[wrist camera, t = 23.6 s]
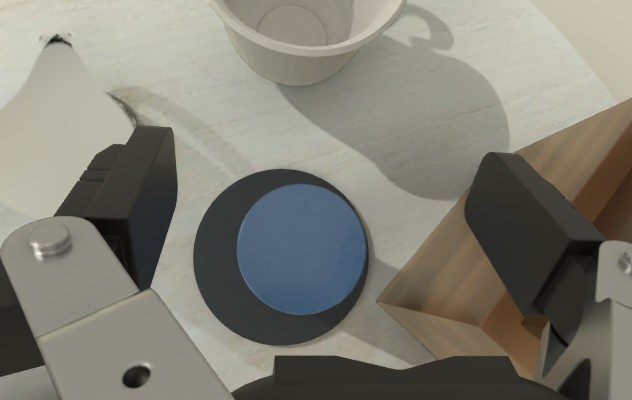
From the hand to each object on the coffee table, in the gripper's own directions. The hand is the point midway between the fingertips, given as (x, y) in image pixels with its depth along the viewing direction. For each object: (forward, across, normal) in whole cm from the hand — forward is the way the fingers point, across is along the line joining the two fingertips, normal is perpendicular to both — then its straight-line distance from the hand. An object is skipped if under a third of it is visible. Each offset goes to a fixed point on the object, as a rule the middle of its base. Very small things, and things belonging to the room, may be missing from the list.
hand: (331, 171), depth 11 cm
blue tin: (+12, 0, +14) cm, 19 cm away
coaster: (+12, 0, +14) cm, 19 cm away
